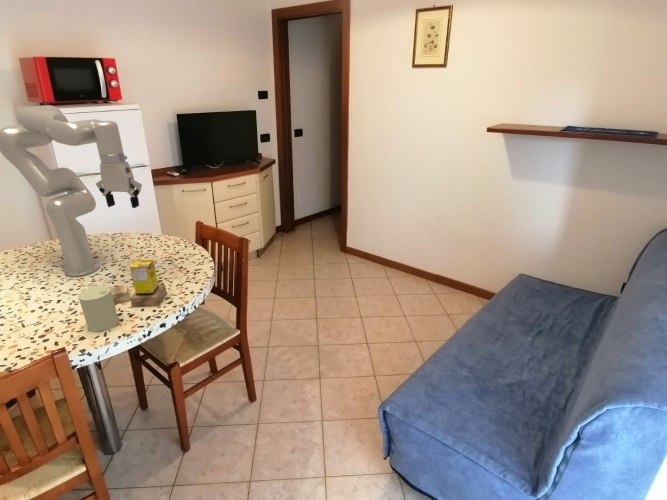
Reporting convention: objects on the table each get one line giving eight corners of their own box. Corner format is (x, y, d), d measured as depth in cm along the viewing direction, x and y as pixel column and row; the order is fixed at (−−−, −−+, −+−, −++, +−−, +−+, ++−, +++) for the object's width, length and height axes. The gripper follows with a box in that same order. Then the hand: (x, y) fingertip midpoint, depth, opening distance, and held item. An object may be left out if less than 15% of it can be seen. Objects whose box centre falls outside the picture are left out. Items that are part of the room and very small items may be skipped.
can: (112, 331, 128) (103, 297, 123) (81, 332, 128) (71, 299, 123) (123, 315, 137) (115, 283, 132) (95, 316, 136) (85, 284, 131)
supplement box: (158, 286, 147) (153, 259, 143) (153, 294, 141) (147, 266, 137) (142, 287, 147) (136, 259, 142) (135, 295, 141) (129, 266, 137)
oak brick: (110, 305, 143) (107, 295, 141) (111, 297, 148) (108, 288, 146) (129, 301, 145) (126, 292, 143) (129, 294, 150) (127, 284, 148)
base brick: (132, 308, 141) (129, 298, 140) (142, 295, 150) (139, 285, 148) (158, 307, 142) (156, 297, 140) (167, 294, 150) (165, 284, 148)
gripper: (142, 157, 142) (151, 204, 149) (97, 156, 145) (109, 202, 152) (128, 161, 135) (139, 210, 142) (82, 160, 138) (95, 208, 145)
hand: (123, 206), depth 147 cm, fingers open, 9 cm apart
